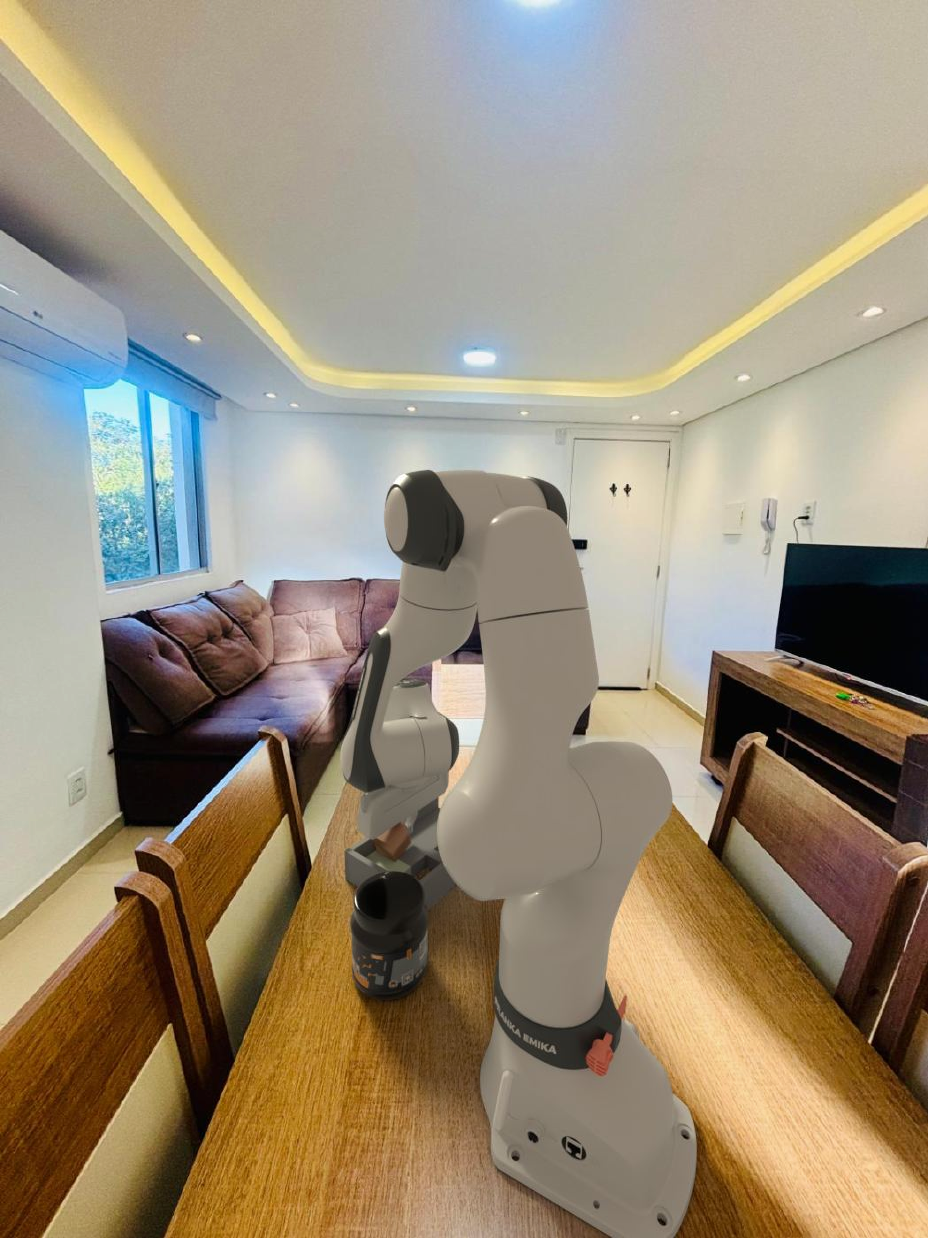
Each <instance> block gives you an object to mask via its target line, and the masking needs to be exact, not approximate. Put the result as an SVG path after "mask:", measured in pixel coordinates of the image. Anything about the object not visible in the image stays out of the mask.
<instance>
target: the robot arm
mask: <svg viewBox="0 0 928 1238" xmlns="http://www.w3.org/2000/svg"><path fill="white" fill-rule="evenodd" d="M561 492H562V491H560V490H559V488H557V486H556V485H554V484H552V483H551V482H549V481H546V480H544V479H541V478H537V477H533V476H528V475H526V476H522V477H520V476H515V475H512V474H511V475H510V474H504V473H503V474H502V473H493V472H486V471H485V470H477V469H476V470H475V469H473V470H472V469H471V470H470V469H469V470H467V469H462V470H461V469H459V470H458V469H457V470H443V471H433V470H432V469H424V470H416V471H411V472H407V473H404V474H402V475H399V476H398V477H397V478H396V479H395V481H394V482H393V483H392V485H391V486H390V487H389V489H388V491H387V493H386V494H387V495H386V497H385V498H386V499H385V503H384V511H383V513H384V514H383V523H384V530H385V535H386V539H387V543H388V547H389V548H390V550H391V552H392V553H394V555H395V556H396V557H397V558H398V559H399V560H400V561H402V564H401V572H400V579H399V588H398V589H399V591H398V598H397V603H396V606H395V609H394V610H393V613H392V614H391V616H390V618H389V619H388V621H387V622H386V623H385V625H384V626H383V627H381V628H380V629H378V630H377V631H375V632H374V634H373V635H372V637H371V640H370V643H369V645H368V648H367V650H366V651H367V652H366V654H365V659H364V663H363V667H362V670H361V673H360V674H361V675H360V677H359V678H360V679H359V682H358V687H357V691H356V696H355V699H354V703H353V707H352V712H351V716H350V720H349V723H348V726H347V728H346V730H345V732H344V736H343V738H342V743H341V749H340V755H339V756H340V758H339V759H340V767H341V768H340V769H341V771H342V775H343V778H344V780H345V782H347V783H348V784H349V785H350V786H352V787H354V788H355V789H356V790H359V791H361V792H362V794H361V795H360V797H359V803H358V809H357V810H358V811H357V822H356V823H357V824H356V827H357V828H356V829H357V831H358V832H359V833H360V834H361V835H362V836H363V837H368V838H370V839H375V838H377V837H378V836H380V835H381V834H383V833H384V832H386V831H387V830H389V829H391V828H392V827H394V826H395V825H397V824H398V823H401V824H403V825H405V826H406V828H407V831H408V835H409V834H410V833H412V832H413V824H414V822H415V819H416V817H417V815H418V810H420V809H421V808H423V807H424V806H426V805H427V804H429V803H430V802H432V801H433V800H435V799H436V798H438V797H439V798H440V797H441V796H443V795H444V794H446V792H447V789H448V788H449V781H450V771H451V770H452V769H453V767H454V766H455V764H456V762H457V760H458V757H459V753H460V734H459V729H458V727H457V726H456V724H455V723H454V722H453V721H452V720H450V719H449V718H448V717H447V716H445V715H444V714H442V713H441V712H439V711H438V710H437V707H435V704H434V702H433V700H432V699H433V698H432V696H431V690H430V685H429V683H428V682H426V681H425V680H422V679H416V678H415V679H413V678H412V679H410V678H409V679H404V678H405V677H407V676H408V675H410V674H411V673H413V672H415V671H417V670H419V669H421V668H423V667H425V666H426V665H429V664H431V663H435V662H437V661H439V660H442V659H444V658H446V657H448V656H450V655H451V654H452V653H455V652H456V651H457V650H458V649H460V648H461V647H462V646H463V645H464V644H465V643H466V642H467V641H468V639H469V637H470V635H471V633H472V631H473V628H474V626H475V625H474V624H475V622H476V618H477V620H478V626H479V627H478V628H479V634H480V635H479V636H480V641H481V650H482V651H481V653H482V661H483V672H484V685H485V686H484V688H485V704H484V705H485V707H484V713H483V721H482V724H481V725H482V726H481V730H480V733H479V736H478V739H477V743H476V746H475V749H474V750H473V751H474V752H473V755H471V759H470V760H469V762H468V764H467V767H466V768H465V770H464V772H463V773H462V775H461V776H460V778H459V779H458V780H457V782H456V783H455V784H454V786H453V787H452V788H451V790H450V791H449V792H448V793H447V794H446V796H445V798H444V799H443V801H442V803H441V807H440V808H441V809H440V812H439V816H438V822H437V844H438V849H439V853H440V857H441V860H442V862H443V865H444V867H445V869H446V871H447V872H448V874H449V875H450V877H451V878H452V880H453V881H454V882H455V883H456V884H457V885H456V886H457V887H458V888H459V890H462V891H463V892H464V893H466V895H468V896H469V897H471V898H473V899H475V900H476V901H480V902H486V901H494V900H502V899H504V900H503V904H502V907H501V912H500V919H499V920H500V921H499V923H500V924H499V925H500V926H499V956H498V959H497V961H496V965H495V970H494V979H493V997H492V998H493V999H492V1000H493V1011H494V1014H495V1015H494V1021H493V1026H492V1031H491V1036H490V1039H489V1044H488V1046H487V1049H486V1050H485V1053H484V1055H483V1058H482V1062H481V1065H480V1074H479V1087H480V1088H479V1089H480V1095H481V1100H482V1103H483V1106H484V1109H485V1113H486V1115H487V1118H488V1122H489V1125H490V1126H489V1127H490V1154H491V1158H492V1163H493V1164H494V1166H495V1167H496V1168H497V1169H498V1170H499V1171H501V1172H502V1173H505V1174H506V1175H508V1176H510V1177H511V1178H513V1179H515V1180H516V1181H518V1182H519V1183H521V1184H523V1185H524V1186H526V1187H528V1188H529V1189H531V1190H532V1191H533V1192H536V1193H538V1194H539V1195H541V1196H542V1197H544V1198H546V1199H548V1200H549V1201H550V1202H553V1203H554V1204H556V1205H557V1206H559V1207H561V1208H562V1209H564V1210H566V1211H567V1212H569V1213H570V1214H572V1215H574V1216H576V1217H578V1218H579V1219H580V1220H582V1221H583V1222H586V1223H587V1224H589V1225H590V1226H592V1227H594V1228H596V1229H597V1230H599V1231H601V1233H604V1234H606V1235H608V1236H609V1237H610V1238H674V1237H675V1236H676V1234H677V1233H678V1231H679V1229H680V1227H681V1226H682V1224H683V1221H684V1219H685V1216H686V1213H687V1211H688V1209H689V1208H688V1207H689V1204H690V1201H691V1197H692V1194H693V1188H694V1183H695V1178H696V1173H697V1172H696V1169H697V1159H698V1157H697V1154H698V1153H697V1150H698V1149H697V1146H698V1145H697V1144H698V1143H697V1135H696V1128H695V1123H694V1120H693V1116H692V1113H691V1111H690V1108H689V1107H688V1106H687V1105H686V1104H685V1103H684V1102H683V1101H682V1100H681V1099H680V1098H679V1097H678V1096H677V1095H675V1094H674V1093H673V1088H672V1084H671V1080H670V1079H669V1076H668V1075H669V1074H668V1073H667V1070H666V1069H665V1067H664V1066H663V1064H662V1063H661V1062H660V1061H659V1060H658V1059H657V1057H656V1056H655V1055H654V1054H653V1053H652V1052H651V1051H650V1050H649V1048H648V1047H647V1046H646V1045H645V1043H643V1042H642V1040H641V1039H640V1033H639V1031H638V1029H637V1027H636V1026H635V1025H634V1024H633V1023H632V1022H630V1021H628V1020H624V1019H623V1018H624V1015H625V1013H626V1009H627V1008H626V1007H627V997H628V996H627V995H626V994H625V995H624V996H623V998H622V1000H621V1002H620V1004H619V1006H618V1008H617V1007H616V1005H615V1000H614V997H613V995H612V992H611V989H610V986H609V983H608V981H607V978H606V977H607V969H608V961H609V951H610V942H611V937H612V932H613V928H614V924H615V920H616V918H617V915H618V912H619V910H620V907H621V904H622V903H623V899H624V897H625V894H626V892H627V891H628V888H629V886H630V883H631V881H632V879H633V876H634V873H635V871H636V869H637V867H638V865H639V862H640V861H641V859H642V857H643V856H644V853H645V851H646V849H647V848H648V846H649V844H650V843H651V842H652V840H653V839H654V838H655V836H656V835H657V833H658V832H659V830H661V828H662V827H663V826H664V825H665V824H666V823H667V821H668V819H669V818H670V815H671V813H672V808H673V791H672V786H671V782H670V780H669V778H668V775H667V773H666V770H665V769H664V767H663V765H662V764H661V763H660V761H659V759H657V758H656V756H655V755H654V754H653V753H652V752H650V750H648V749H647V748H646V747H644V746H642V745H640V744H638V743H635V742H633V741H611V740H610V741H592V742H587V743H584V744H580V745H578V746H574V747H571V741H572V738H573V733H574V731H575V727H576V725H577V724H578V723H577V722H578V721H579V719H580V717H581V715H582V714H583V712H584V711H585V710H586V709H587V708H588V707H589V705H590V704H591V703H592V701H593V700H594V699H595V697H596V695H597V691H598V689H599V683H600V682H599V681H600V677H599V676H600V675H599V670H598V668H599V667H598V664H597V656H596V650H595V644H594V638H593V637H594V636H593V630H592V628H593V627H592V621H591V617H590V616H591V615H590V610H589V604H588V603H589V602H588V596H587V591H586V586H585V582H584V578H583V577H584V576H583V574H582V570H581V569H582V568H581V565H580V562H579V558H578V554H577V552H576V549H575V545H574V542H573V539H572V536H571V535H570V532H569V529H568V511H567V504H566V501H565V498H564V496H563V495H562V493H561ZM476 616H477V617H476ZM684 1136H685V1137H686V1138H687V1139H686V1138H684ZM513 1157H516V1158H518V1160H514V1159H513ZM658 1220H662V1221H663V1222H664V1224H665V1225H662V1224H661V1223H660V1222H659V1221H658Z"/></svg>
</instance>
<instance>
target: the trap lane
mask: <svg viewBox="0 0 928 1238" xmlns="http://www.w3.org/2000/svg"><path fill="white" fill-rule="evenodd" d="M439 798H440V797H438V798H436V799H435V800H433V801H432V802H430V803H429V804H427V805H426V806H424V807H423V808H421V809H420V810H418V815H417V817H416V819H415V822H414V824H413V832H412V833H410V834H409V838H410V841H411V844H410V845H409V846H408V848H407V849H406V850H405V851H404V852H403V853H402V855H401V856H400V857H399V858H398V859H397V861H396V862H394V861H392V860H390V859H389V858H387V857H385V856H383V855H381V854H380V853H378V852H377V850H376V847H375V844H374V842H373V839H370V838H368V837H366V836H364V838H363V837H362V839H360V840H359V841H357V842H355V843H354V844H353V845H351V846H350V847H348V848H347V849H345V850H344V876H345V877H344V879H345V881H348V882H349V883H351V884H352V885H354V886H355V887H357V888H358V887H359V886H360V885H361V884H362V883H363V882H364V881H365V880H366V879H368V878H370V877H371V876H373V875H376V874H379V873H382V872H389V871H398V872H404V873H407V874H410V875H412V876H414V877H415V878H416V876H417V875H418V874H420V873H421V872H422V871H424V870H425V869H426V868H427V869H429V870H431V871H429V872H428V873H427V874H426V875H425V876H424V877H422V878H421V879H420V880H419V881H420V882H421V884H422V885H423V888H424V891H425V904H426V906H427V909H428V911H429V910H430V909H432V908H433V906H435V905H436V904H437V903H439V901H440V900H441V899H442V898H443V897H444V896H446V895H447V894H448V893H449V892H450V891H451V890H452V889H453V888H454V887H456V886H458V885H457V884H456V883H455V882H454V881H453V880H452V878H451V877H450V875H449V874H448V872H447V871H446V869H445V867H444V865H443V862H442V860H441V857H440V853H439V849H438V844H437V822H438V816H439V812H440V809H441V807H439V806H440V805H439Z"/></svg>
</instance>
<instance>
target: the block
mask: <svg viewBox="0 0 928 1238" xmlns="http://www.w3.org/2000/svg"><path fill="white" fill-rule="evenodd" d="M373 842H374V844H375V847H376V850H377V852H378V853H380V854H381V855H383V856H385V857H387V858H389V859H390V860H392V861H394V862H396V861H397V859H398V858H399V857H400V856H401V855H402V853H403V852H404V851H405V850H406V849H407V848H408V846H409V845H410V844H411V841H410V838H409V835H408V831H407V828H406V826H405V825H403V824H401V823H398V824H397V825H395V826H394V827H392V828H391V829H389V830H387V831H386V832H384V833H383V834H381V835H380V836H378V837H377V838H375V839H373Z"/></svg>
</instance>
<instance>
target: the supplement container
mask: <svg viewBox="0 0 928 1238" xmlns="http://www.w3.org/2000/svg"><path fill="white" fill-rule="evenodd" d="M352 905H353V911H352V913H351V915H350V920H349V928H350V933H351V973H352V978H353V981H354V983H355V985H356V986H357V988H358V989H359V990H360V991H361V992H362V993H363V994H365V995H366V996H368V997H370V998H372V999H376V1000H380V1001H390V1000H396V999H400V998H403V997H404V996H407V995H408V994H410V993H412V992H413V991H414V990H415V989H417V987H418V986H419V985H420V984H421V983H422V981H423V980H424V978H425V975H426V973H427V970H428V965H429V953H428V948H429V947H428V940H429V939H428V935H429V934H428V933H429V931H428V928H429V927H428V926H429V920H430V919H429V917H430V916H429V910H428V909H427V906H426V904H425V891H424V888H423V885H422V884H421V882H420V880H419V879H418V878H417V877H416V876H415V877H414V876H412V875H410V874H407V873H404V872H398V871H389V872H382V873H379V874H376V875H373V876H371V877H370V878H368V879H366V880H365V881H364V882H363V883H362V884H361V885H360V886H359V887H357V888H356V890H355V892H354V894H353V901H352Z"/></svg>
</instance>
